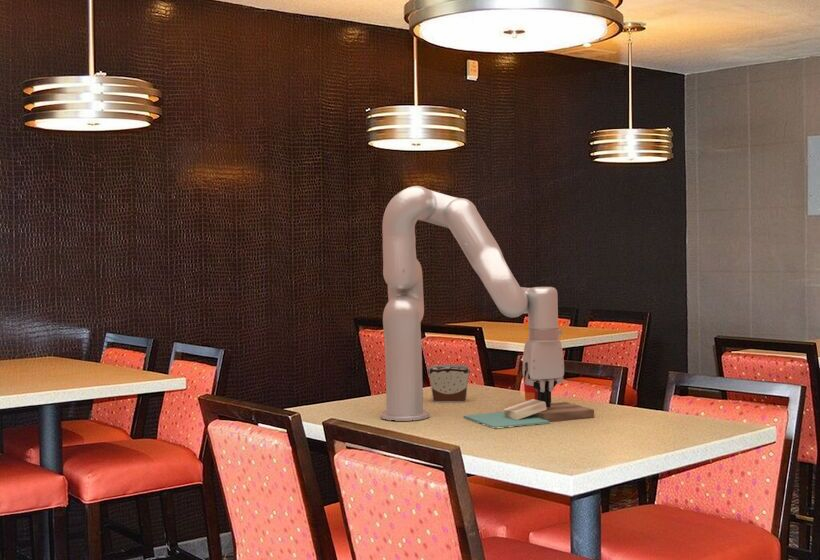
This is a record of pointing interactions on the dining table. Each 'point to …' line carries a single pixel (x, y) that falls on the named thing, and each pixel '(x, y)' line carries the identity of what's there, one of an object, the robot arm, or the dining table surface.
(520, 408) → the beige flat block
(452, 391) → the food container
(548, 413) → the block
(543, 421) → the mat
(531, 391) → the paper cup
